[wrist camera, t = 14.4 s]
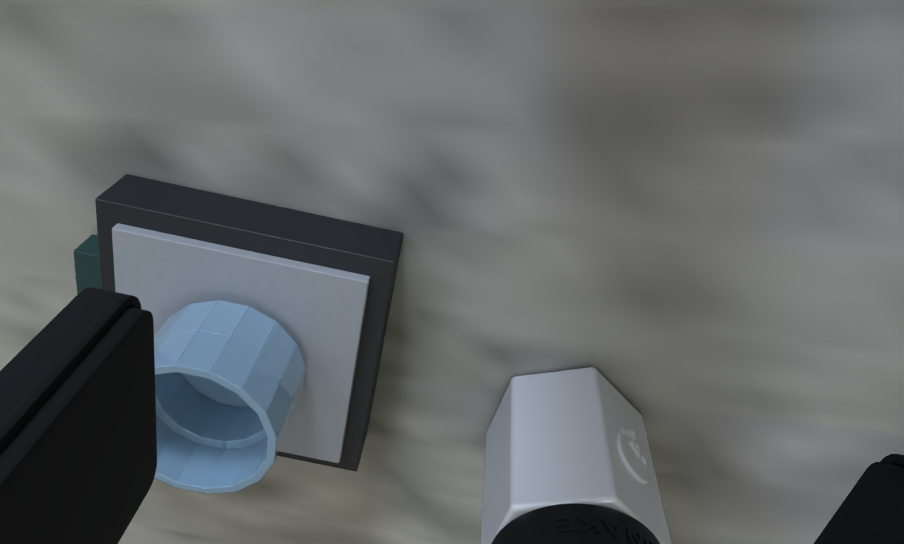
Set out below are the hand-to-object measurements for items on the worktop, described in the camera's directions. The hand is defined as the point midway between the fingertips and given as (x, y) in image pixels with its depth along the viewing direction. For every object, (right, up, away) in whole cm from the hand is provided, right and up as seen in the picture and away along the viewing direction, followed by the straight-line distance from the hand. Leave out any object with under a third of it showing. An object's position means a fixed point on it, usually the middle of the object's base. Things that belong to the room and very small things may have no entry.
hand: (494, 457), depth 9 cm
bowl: (-12, -2, +26) cm, 29 cm away
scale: (-11, 0, +29) cm, 31 cm away
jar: (+6, -6, +31) cm, 33 cm away
